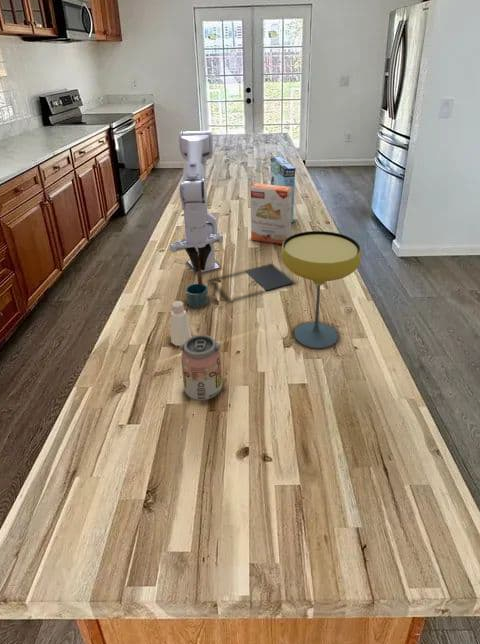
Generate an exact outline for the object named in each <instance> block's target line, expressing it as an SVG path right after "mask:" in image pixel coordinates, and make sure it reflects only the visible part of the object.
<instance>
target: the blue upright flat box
mask: <svg viewBox="0 0 480 644" xmlns="http://www.w3.org/2000/svg"><path fill="white" fill-rule="evenodd" d="M269 176H270V179H269V180H270V181H269V182H270V183H269V185H277V186H287V187H292V205H291V223H294V211H295V209H294V207H295V206H294V205H295V187H296V186H295V185H296V167H295V166H294V165H292V164H290V163H289V162H288V161H287V160H286V159H284V158H283V157H282V156H272V157H270V175H269Z"/></svg>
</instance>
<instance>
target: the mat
mask: <svg viewBox="0 0 480 644" xmlns="http://www.w3.org/2000/svg"><path fill="white" fill-rule="evenodd" d="M244 272H245V274H247V275H248V276H249V277H250V278H251V279H252V280H253V281H255V283H257V284H258V285H259V286H260V287H261V288H262V289H263V290H264V291H265V292H268V291H269V292H270V291H272V290H276V289H281V288H282V287H287V286H290V285H294V281H292V279H290V278H289V277H287V276H286V274H284V273H283V272H282V271H280V270H279V269H278V268H276V266H274V265H273V264H267V265H263V266H259V267H255V268H251V269H247V270H244Z"/></svg>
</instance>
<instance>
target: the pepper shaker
mask: <svg viewBox="0 0 480 644" xmlns="http://www.w3.org/2000/svg"><path fill="white" fill-rule="evenodd" d="M171 307H172V308H171V309H172V311H171V313H170V343H171V344H173V345H174V346H176V347H177V346H180V345H181V344H184V343H185V341H186V340H187V339H189V338H191V337H192V332H191V328H190V322H189V319H188V314H187V311H186V310H185V309H184V302H183V301H181V300H176V301H173V302H172V303H171Z"/></svg>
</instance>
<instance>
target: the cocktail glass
mask: <svg viewBox="0 0 480 644" xmlns="http://www.w3.org/2000/svg"><path fill="white" fill-rule="evenodd" d="M281 245H282V246H281V261H282V263H283V265H284V266H285V267H286V268H287V270H289V271H290V272H291V273H293V274H294V275H296V276H298V277H300V278H303V279H306V280H309V281H312V282H313V284H314V285H316V286H317V288H316V304H315V305H316V306H315V316H314V321H310V322H309V321H308V322H305V323H301V324H300V325H298V326H297V327H296V329H295V330H294V339H295V340H296V341H297V342H298V343H299V344H301V345H302V346H304V347H307V348H311V349H327V348H330V347H332V346H333V345H334V344H336V342H337V341H338V338H339V337H338V333H337V331H336V330H335V328H334V327H332V326H330V325H329V324H326V323H323V322H319V313H320V311H319V310H320V296H321V295H320V294H321V286H323V285H324V284H325V283H326V282H332V281H337V280H341V279H344V278H347V277H348V276H350V275H351V274H353V273H354V272H355V271H357V269H359V266H360V265H361V260H362V248H361V245H360V244H359V243H358V241H357V240H355V239H353V238H351V237H349V236H347V235H346V234H342V233H337V232H333V231H327V230H326V231H325V230H312V231H303V232H298V233H295V234H293V235H291V236H290V237H288V238H287V239H286V240H285V241H284V243H283V244H281Z"/></svg>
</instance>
